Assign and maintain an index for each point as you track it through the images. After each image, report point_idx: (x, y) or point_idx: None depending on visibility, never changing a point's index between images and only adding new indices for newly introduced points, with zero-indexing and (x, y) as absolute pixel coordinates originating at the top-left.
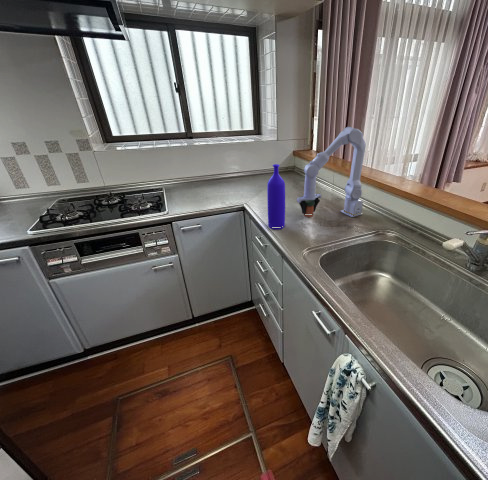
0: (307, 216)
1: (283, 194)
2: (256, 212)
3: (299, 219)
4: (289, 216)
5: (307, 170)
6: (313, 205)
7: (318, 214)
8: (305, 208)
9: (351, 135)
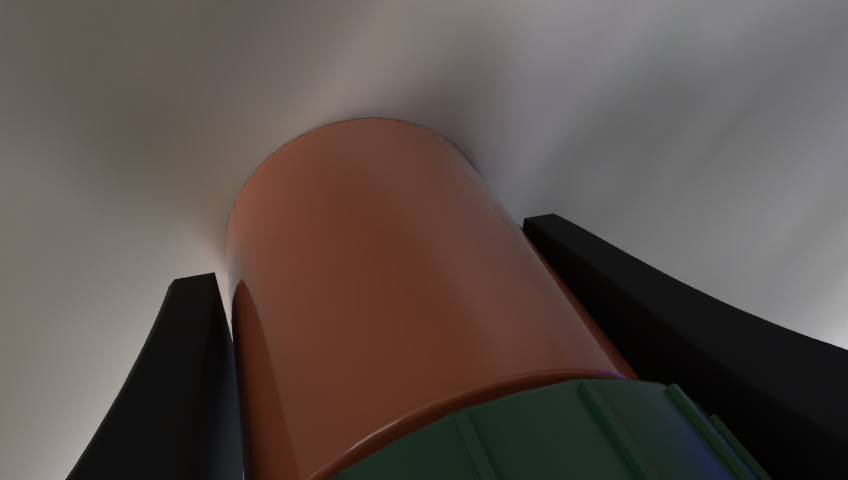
0: (463, 156)
1: None
2: None
3: (692, 102)
4: (699, 287)
5: None
6: (436, 426)
7: (21, 193)
8: (705, 321)
9: None
